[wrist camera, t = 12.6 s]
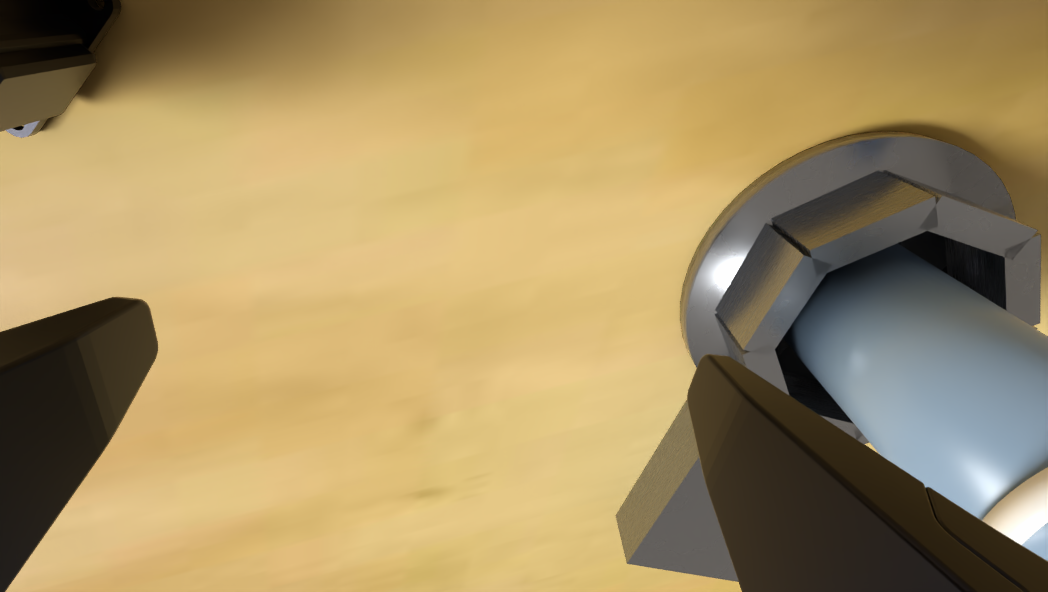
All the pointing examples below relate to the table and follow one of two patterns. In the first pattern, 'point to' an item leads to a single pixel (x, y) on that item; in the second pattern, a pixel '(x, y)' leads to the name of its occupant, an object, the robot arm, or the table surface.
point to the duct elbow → (937, 384)
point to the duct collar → (791, 278)
